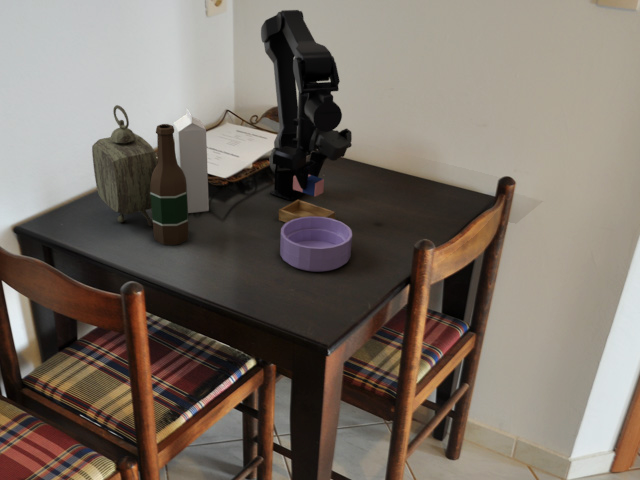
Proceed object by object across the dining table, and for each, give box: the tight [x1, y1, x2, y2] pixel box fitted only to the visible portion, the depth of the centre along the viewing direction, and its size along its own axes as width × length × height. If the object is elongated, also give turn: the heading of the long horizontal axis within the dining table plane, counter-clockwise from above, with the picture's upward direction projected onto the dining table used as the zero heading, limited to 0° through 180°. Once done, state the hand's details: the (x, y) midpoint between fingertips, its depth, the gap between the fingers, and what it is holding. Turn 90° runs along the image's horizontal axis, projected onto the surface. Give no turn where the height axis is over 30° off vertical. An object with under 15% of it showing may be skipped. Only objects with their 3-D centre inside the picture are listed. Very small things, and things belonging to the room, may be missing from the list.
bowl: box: [279, 216, 353, 273], centre depth 153 cm, size 14×14×6 cm
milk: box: [173, 107, 210, 214], centre depth 166 cm, size 6×6×22 cm
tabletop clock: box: [91, 104, 158, 227], centre depth 159 cm, size 14×9×25 cm, turn 33°
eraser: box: [293, 175, 325, 197], centre depth 163 cm, size 6×3×3 cm, turn 52°
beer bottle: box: [150, 123, 190, 246], centre depth 153 cm, size 8×8×24 cm
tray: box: [278, 199, 336, 223], centre depth 167 cm, size 10×7×2 cm
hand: (308, 186), depth 163 cm, fingers closed on eraser, 3 cm apart
